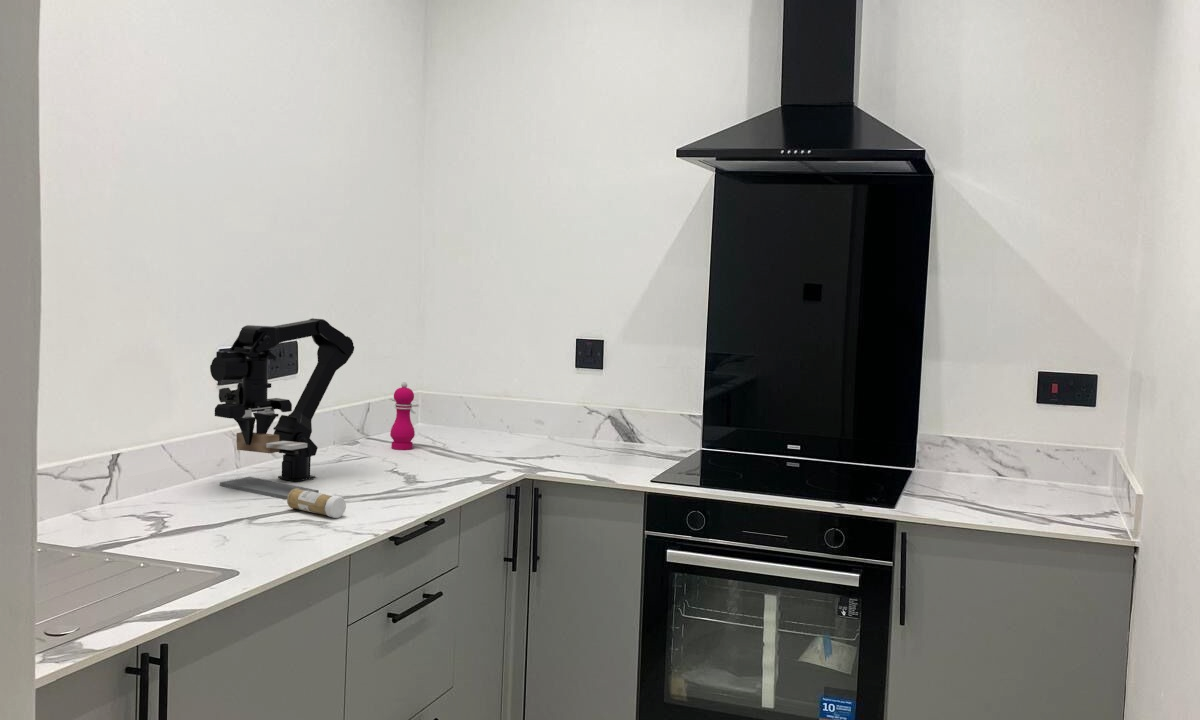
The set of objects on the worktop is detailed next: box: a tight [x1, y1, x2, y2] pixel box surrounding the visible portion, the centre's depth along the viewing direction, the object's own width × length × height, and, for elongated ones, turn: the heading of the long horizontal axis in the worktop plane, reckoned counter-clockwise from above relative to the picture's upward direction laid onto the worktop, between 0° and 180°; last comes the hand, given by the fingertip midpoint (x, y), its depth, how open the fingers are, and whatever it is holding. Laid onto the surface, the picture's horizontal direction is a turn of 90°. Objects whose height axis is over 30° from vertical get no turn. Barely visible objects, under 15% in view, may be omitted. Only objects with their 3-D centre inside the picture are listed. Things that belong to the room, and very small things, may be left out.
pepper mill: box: [389, 382, 416, 451], centre depth 297 cm, size 7×7×20 cm
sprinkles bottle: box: [286, 488, 347, 519], centre depth 213 cm, size 5×5×14 cm
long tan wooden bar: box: [236, 431, 307, 454], centre depth 233 cm, size 19×5×4 cm, turn 61°
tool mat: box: [219, 476, 320, 501], centre depth 233 cm, size 9×23×1 cm, turn 61°
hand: (253, 443), depth 235 cm, fingers closed on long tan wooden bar, 3 cm apart
